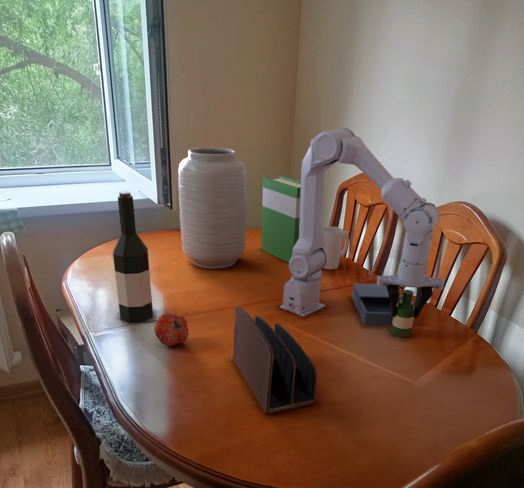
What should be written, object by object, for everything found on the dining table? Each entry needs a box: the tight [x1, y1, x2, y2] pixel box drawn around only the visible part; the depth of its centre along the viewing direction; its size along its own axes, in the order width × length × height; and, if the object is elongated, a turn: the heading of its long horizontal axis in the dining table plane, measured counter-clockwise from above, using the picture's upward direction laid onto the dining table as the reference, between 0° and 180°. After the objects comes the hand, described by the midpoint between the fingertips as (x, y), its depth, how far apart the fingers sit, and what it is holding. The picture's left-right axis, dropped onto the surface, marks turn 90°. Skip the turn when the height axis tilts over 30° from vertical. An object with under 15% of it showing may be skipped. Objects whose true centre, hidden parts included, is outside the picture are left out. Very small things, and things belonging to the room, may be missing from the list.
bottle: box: [390, 289, 416, 338], centre depth 115 cm, size 5×5×11 cm
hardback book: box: [260, 175, 301, 264], centre depth 160 cm, size 18×7×24 cm, turn 35°
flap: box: [353, 282, 403, 299], centre depth 130 cm, size 8×11×1 cm
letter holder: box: [232, 305, 318, 415], centre depth 95 cm, size 10×20×14 cm, turn 21°
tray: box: [351, 285, 402, 327], centre depth 127 cm, size 17×11×4 cm, turn 1°
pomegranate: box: [153, 312, 189, 347], centre depth 109 cm, size 7×7×10 cm
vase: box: [178, 147, 248, 270], centre depth 150 cm, size 20×20×34 cm
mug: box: [321, 225, 350, 270], centre depth 155 cm, size 10×7×12 cm, turn 115°
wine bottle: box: [112, 190, 154, 324], centre depth 115 cm, size 8×8×30 cm
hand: (404, 315), depth 115 cm, fingers closed on bottle, 4 cm apart
